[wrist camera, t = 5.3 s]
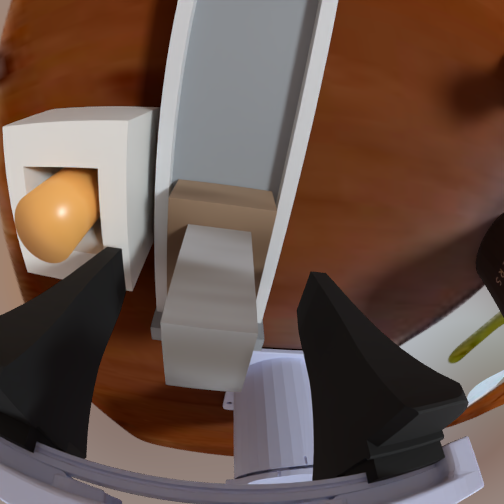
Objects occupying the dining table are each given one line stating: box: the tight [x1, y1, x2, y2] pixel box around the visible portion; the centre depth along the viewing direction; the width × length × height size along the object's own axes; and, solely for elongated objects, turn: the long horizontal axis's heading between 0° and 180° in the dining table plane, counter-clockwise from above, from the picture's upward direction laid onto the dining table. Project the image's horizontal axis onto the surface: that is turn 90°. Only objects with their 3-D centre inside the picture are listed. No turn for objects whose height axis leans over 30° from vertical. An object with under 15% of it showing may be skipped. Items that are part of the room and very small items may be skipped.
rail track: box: [151, 0, 338, 351], centre depth 11 cm, size 20×6×3 cm, turn 170°
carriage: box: [160, 179, 277, 392], centre depth 11 cm, size 5×4×7 cm
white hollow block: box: [3, 106, 160, 291], centre depth 11 cm, size 7×6×4 cm
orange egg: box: [15, 167, 100, 263], centre depth 10 cm, size 3×3×4 cm
